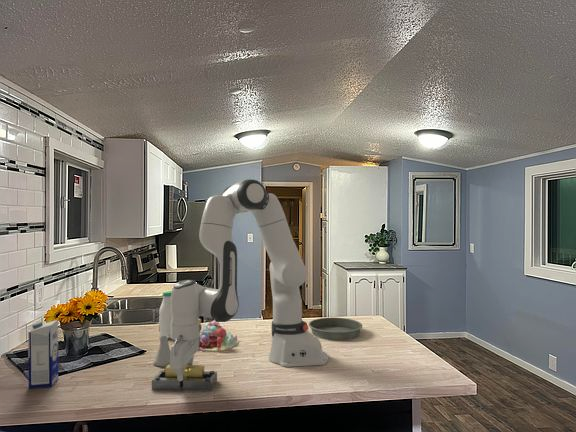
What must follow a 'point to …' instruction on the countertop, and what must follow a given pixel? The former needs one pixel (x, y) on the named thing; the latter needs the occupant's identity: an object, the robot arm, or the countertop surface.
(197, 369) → the tall mustard post
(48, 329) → the milk carton
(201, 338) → the candy landscape model
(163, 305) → the milk bottle
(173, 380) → the link
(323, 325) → the cake pan
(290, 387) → the countertop surface
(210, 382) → the grey forked link
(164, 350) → the flask
